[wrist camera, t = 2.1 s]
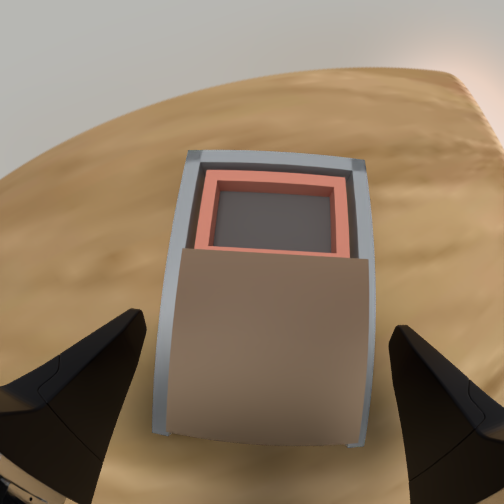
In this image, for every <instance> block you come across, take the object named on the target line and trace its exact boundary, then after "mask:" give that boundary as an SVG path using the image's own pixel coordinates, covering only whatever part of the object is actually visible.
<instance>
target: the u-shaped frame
mask: <svg viewBox="0 0 504 504" xmlns="http://www.w3.org/2000/svg"><path fill="white" fill-rule="evenodd" d="M207 170H242V171H267V172H285V173H300V174H313V175H324V176H335V177H345V182H346V194H347V208H348V224H349V248H350V258H359V259H369V340H368V359H367V373H366V385H365V395H364V405H363V413H362V421H361V428H360V435H359V441H358V443H354V444H345V445H346V447H347V448H352V447H362V446H364V444H365V437H366V431H367V424H368V417H369V409H370V400H371V390H372V379H373V366H374V349H375V319H376V288H375V257H374V240H373V227H372V215H371V205H370V196H369V188H368V180H367V172H366V166H365V160H361V159H353V158H344V157H335V156H326V155H315V154H303V153H289V152H272V151H247V150H188V154H187V158H186V163H185V167H184V171H183V176H182V181H181V185H180V190H179V195H178V200H177V205H176V210H175V215H174V221H173V226H172V232H171V238H170V244H169V250H168V256H167V263H166V270H165V276H164V284H163V291H162V299H161V307H160V316H159V325H158V335H157V346H156V358H155V372H154V389H153V413H152V433H156V434H161V435H165V436H169V435H170V434H171V433H169V432H166V414H167V393H168V376H169V362H170V350H171V338H172V328H173V318H174V309H175V300H176V292H177V284H178V276H179V268H180V261H181V254H182V248H188V249H194V247H195V240H196V233H197V226H198V219H199V213H200V207H201V201H202V194H203V189H204V183H205V177H206V171H207Z"/></svg>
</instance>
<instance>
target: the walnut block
mask: <svg viewBox="0 0 504 504" xmlns="http://www.w3.org/2000/svg"><path fill="white" fill-rule="evenodd" d="M368 340H369V259H359V258H342V257H325V256H308V255H291V254H274V253H257V252H239V251H222V250H205V249H188V248H182V254H181V261H180V268H179V276H178V284H177V292H176V300H175V309H174V318H173V328H172V338H171V350H170V362H169V376H168V393H167V414H166V432H169V433H174V434H179V435H184V436H190V437H196V438H202V439H209V440H216V441H224V442H233V443H243V444H256V445H275V446H323V445H341V444H354V443H358V441H359V435H360V428H361V421H362V413H363V405H364V395H365V385H366V373H367V359H368Z"/></svg>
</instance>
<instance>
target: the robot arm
mask: <svg viewBox="0 0 504 504" xmlns="http://www.w3.org/2000/svg"><path fill="white" fill-rule="evenodd" d="M146 331H147V328H146V323H145V319H144V316H143V312H142V311H141V310H140V309H133V308H131V309H129V310H127V311H126V312H124V313H123V314H121V315H119V316H118V317H116V318H115V319H113V320H112V321H110V322H109V323H107V324H105V325H104V326H102V327H101V328H99V329H98V330H96V331H95V332H93V333H91V334H90V335H88V336H87V337H85V338H84V339H82V340H81V341H79V342H78V343H76V344H74V345H73V346H71V347H70V348H68V349H67V350H65V351H64V352H62V353H61V354H60V355H58V356H56V357H54V358H53V359H51V360H50V361H48V362H47V363H45V364H43V365H42V366H40V367H38V368H37V369H35V370H33V371H31V372H29V373H28V374H26V375H24V376H22V377H20V378H18V379H16V380H14V381H13V382H11V383H9V384H7V385H4V386H0V504H64V503H65V500H66V498H68V499H70V500H72V501H74V502H76V503H78V504H91V503H92V499H93V495H94V492H95V488H96V485H97V481H98V478H99V475H100V471H101V468H102V465H103V461H104V458H105V455H106V452H107V449H108V446H109V443H110V440H111V437H112V434H113V431H114V428H115V425H116V422H117V419H118V416H119V414H120V411H121V408H122V405H123V403H124V400H125V397H126V394H127V392H128V389H129V386H130V384H131V381H132V379H133V376H134V373H135V371H136V368H137V365H138V361H139V357H140V354H141V350H142V346H143V343H144V339H145V335H146ZM389 355H390V363H391V371H392V380H393V386H394V391H395V396H396V401H397V406H398V411H399V416H400V422H401V428H402V434H403V440H404V447H405V454H406V461H407V470H408V479H409V491H410V504H504V407H502V406H501V405H500V404H498V403H497V402H496V401H495V400H493V399H492V398H491V397H490V396H488V395H487V394H486V393H485V392H483V391H482V390H481V389H480V388H479V387H478V386H477V385H475V384H474V383H473V382H472V381H471V380H469V378H468V377H467V376H465V375H464V374H463V373H462V372H461V371H460V370H459V369H458V368H457V367H455V366H454V365H453V364H452V363H451V362H450V361H449V360H447V359H446V358H445V357H444V356H443V355H442V354H441V353H439V352H438V351H437V350H436V349H435V348H434V347H433V346H431V345H430V344H429V343H428V342H427V341H426V340H424V339H423V338H422V337H421V336H420V335H418V334H417V333H416V332H415V331H414V330H413V329H411V328H410V327H409V326H408V325H397V326H396V327H395V329H394V332H393V334H392V336H391V339H390V341H389Z"/></svg>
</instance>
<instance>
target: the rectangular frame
mask: <svg viewBox="0 0 504 504" xmlns="http://www.w3.org/2000/svg"><path fill="white" fill-rule="evenodd" d="M194 249H205V250H222V251H239V252H257V253H274V254H291V255H308V256H325V257H342V258H350V248H349V224H348V208H347V194H346V182H345V177H335V176H324V175H313V174H300V173H285V172H267V171H242V170H207V171H206V177H205V183H204V189H203V194H202V201H201V207H200V213H199V219H198V226H197V233H196V240H195V247H194Z"/></svg>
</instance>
